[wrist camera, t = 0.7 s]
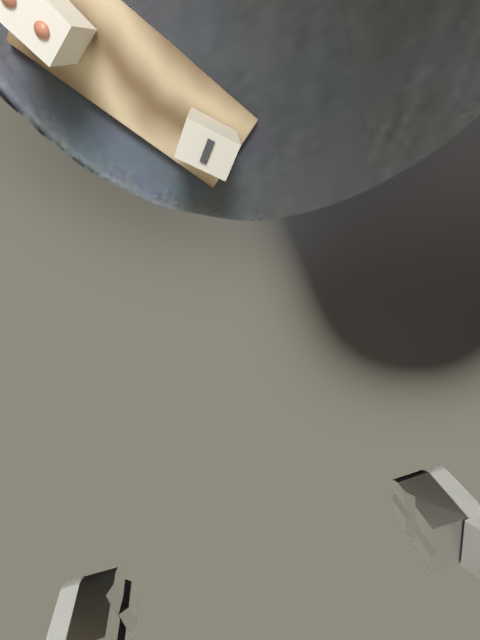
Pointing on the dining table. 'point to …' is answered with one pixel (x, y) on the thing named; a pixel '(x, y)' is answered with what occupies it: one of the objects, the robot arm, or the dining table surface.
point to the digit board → (144, 80)
